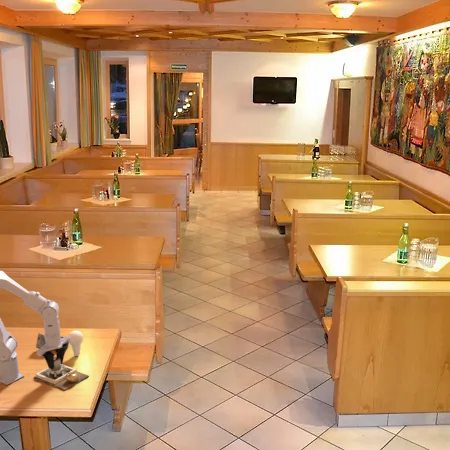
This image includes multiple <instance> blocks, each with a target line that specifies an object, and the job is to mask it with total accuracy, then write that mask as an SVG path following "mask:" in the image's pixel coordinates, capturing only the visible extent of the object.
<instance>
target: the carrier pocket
mask: <svg viewBox="0 0 450 450" xmlns="http://www.w3.org/2000/svg"><path fill="white" fill-rule="evenodd" d="M61 365H62V364H61ZM64 367H66V370H68V371H70V372H78V370H77V369H76V368H73V367H71V366H68V365H65V364H64ZM48 368H49V367H48V366H47V368H45V369H43V370H41V371H39V372H36V373H35V376H36V377H38V378H40V379H43V380H45V381H48V382H50V383H53V384H56V383H58V382H60V381H62V380H64V379H66V374H65V375H63V376H61V377H59V378H58V379H56V380H54V379H51V378H48V377H46V376H43V374H45V373H46V369H48ZM70 372H69V373H70ZM67 374H68V373H67Z"/></svg>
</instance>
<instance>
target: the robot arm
mask: <svg viewBox="0 0 450 450" xmlns="http://www.w3.org/2000/svg"><path fill="white" fill-rule="evenodd" d="M3 289H4V290H6V291H8V292H10V293H12V294H13V295H15V296H17V297H19V298H21V299H22V300H23V304H24V305H26V306H27V307H29V308H30V309H32V310H33V311H35V312H36V313H38V314H40V317H41V319H42V320H43V331H44V334H45V343H46V344H45V345H44V346H43V347H41V348H40V349H36V356H38V357H43V358H44V359H43V360H44V361H45V362H46V364H47V368H48V367H49V368H50V369H53V368H54V362H53V360H54V357H60V358H61V364H63V363H64V358H65V354H66V352H67V350H68V347H67V346H66V345H65V343H69V342H70V337H68V336H64V338H61V337H62V335H61V326H60V325H61V323H60V318H59V317H60V316H59V313H60V305H59V303H57V301H55V300H50V299H47V298H45V297H44V296H42V295H41V292H39V291H34V290H30V291H29V290H27V289H26V288H24V287H23V286H22V285H20V284H19V283H18V282H16V281H15V280H14V279H12V278H11V277H9V276H8V275H7V274H6V273H5V272H4V270H0V290H3ZM69 344H70V343H69ZM17 347H18V341H17V339H16V338H15V337H14V336H13V335H12V334H11V332H10V331H8V330H7V329H6V326H5V324H4V322H3V321H2V318H1V317H0V383H1V384H3V385H7V386H8V385H10V384H12V383H14V382H15V381H18V380H20V379H22V378H24V377H25V374H23V373H20V372H19V371H20V370H19V363H18V353H17V352H16V349H17ZM53 350H55V353H53V352H52V351H53ZM55 354H56V356H55Z"/></svg>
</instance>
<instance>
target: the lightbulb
mask: <svg viewBox="0 0 450 450" xmlns="http://www.w3.org/2000/svg"><path fill="white" fill-rule="evenodd" d="M67 337H70V342H69V344H70V346H71V348H72V352H73V355H74V356H76V357H78V356H79V355H80V354H81V345H82V343H83V340H84V335H83V333H82V332H81V331H79V330H72V331H71V332H69V334H68V336H67Z"/></svg>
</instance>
